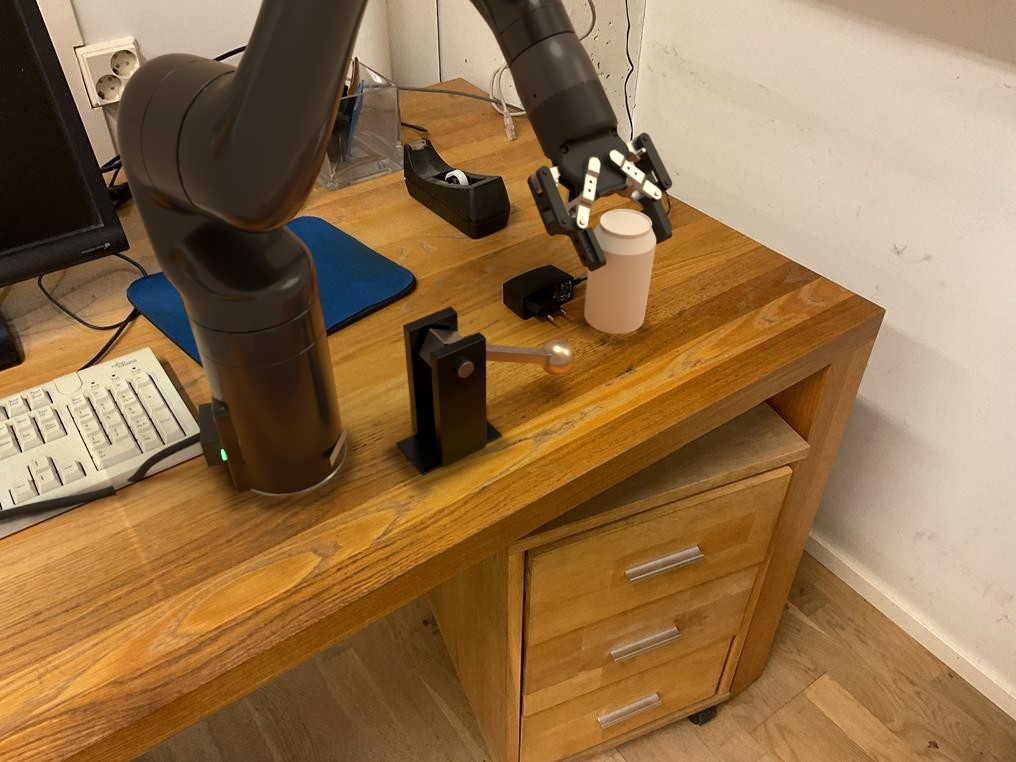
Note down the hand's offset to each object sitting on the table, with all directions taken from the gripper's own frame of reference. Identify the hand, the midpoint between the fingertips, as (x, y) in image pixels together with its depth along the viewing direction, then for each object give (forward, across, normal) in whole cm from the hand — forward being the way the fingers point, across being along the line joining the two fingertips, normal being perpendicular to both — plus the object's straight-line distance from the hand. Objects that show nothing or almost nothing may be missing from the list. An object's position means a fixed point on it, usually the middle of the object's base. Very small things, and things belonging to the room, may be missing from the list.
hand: (632, 254), depth 77 cm
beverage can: (+6, 0, +8) cm, 10 cm away
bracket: (+9, -24, +4) cm, 26 cm away
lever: (+5, -19, -1) cm, 19 cm away
